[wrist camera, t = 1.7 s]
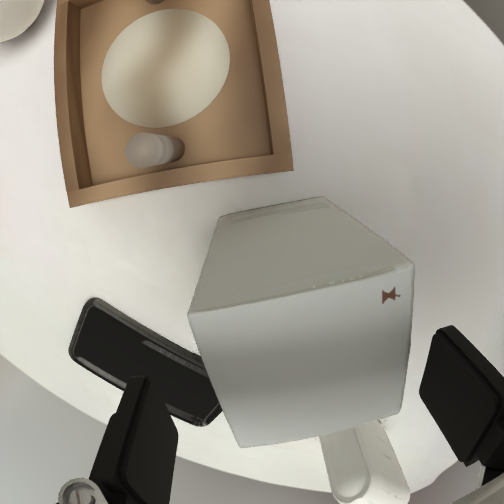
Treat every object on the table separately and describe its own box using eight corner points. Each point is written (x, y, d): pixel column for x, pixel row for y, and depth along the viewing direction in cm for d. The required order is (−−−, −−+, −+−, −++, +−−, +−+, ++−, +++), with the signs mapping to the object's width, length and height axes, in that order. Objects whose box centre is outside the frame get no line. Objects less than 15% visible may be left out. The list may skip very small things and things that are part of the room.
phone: (203, 429, 26) (66, 356, 24) (204, 421, 28) (70, 349, 25) (247, 384, 24) (87, 295, 22) (247, 376, 26) (93, 289, 23)
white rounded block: (387, 424, 28) (422, 509, 17) (356, 443, 29) (382, 528, 18) (342, 385, 26) (381, 496, 14) (306, 409, 27) (328, 519, 15)
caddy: (256, -35, 14) (260, -92, 8) (286, 167, 20) (307, 176, 13) (76, 8, 15) (28, -23, 8) (90, 199, 20) (34, 223, 13)
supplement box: (216, 214, 21) (178, 307, 9) (325, 194, 20) (424, 258, 8) (239, 310, 23) (235, 452, 11) (336, 291, 23) (404, 416, 11)
